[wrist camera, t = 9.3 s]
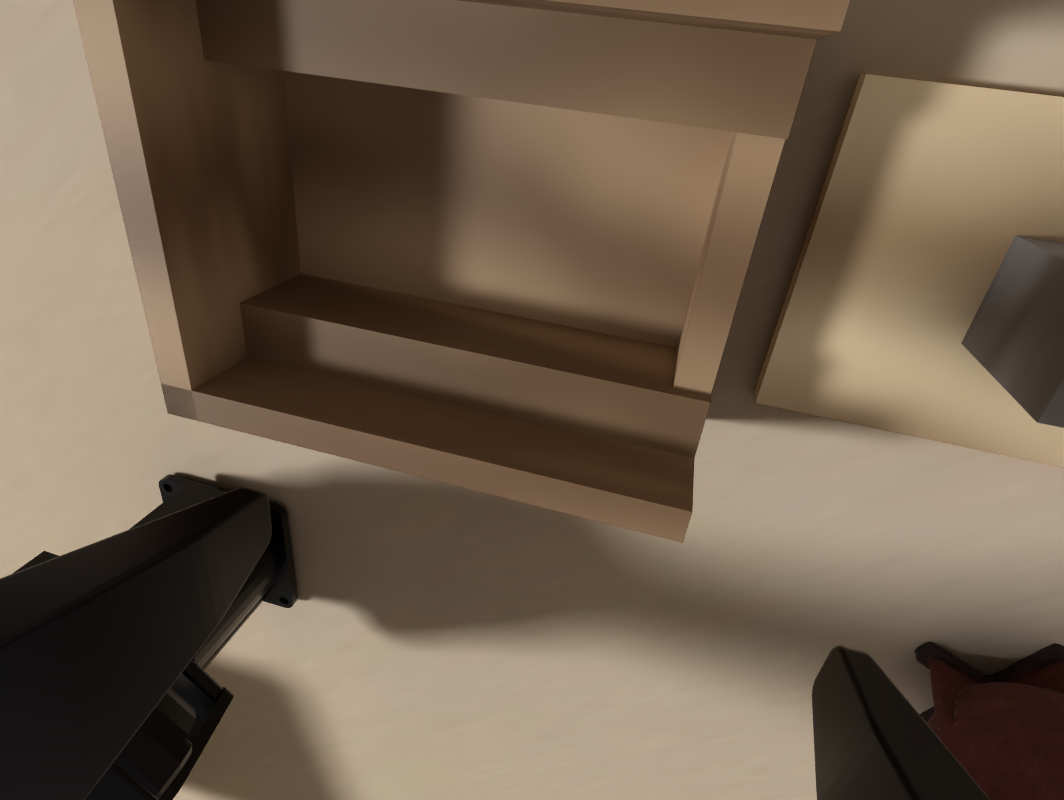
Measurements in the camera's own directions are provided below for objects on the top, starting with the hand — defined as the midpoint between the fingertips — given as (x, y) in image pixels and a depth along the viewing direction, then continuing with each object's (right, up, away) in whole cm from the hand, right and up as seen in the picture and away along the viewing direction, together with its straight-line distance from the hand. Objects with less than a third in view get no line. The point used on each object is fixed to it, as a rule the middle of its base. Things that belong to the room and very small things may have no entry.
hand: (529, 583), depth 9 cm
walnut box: (-1, +9, +9) cm, 13 cm away
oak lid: (+14, +6, +7) cm, 17 cm away
